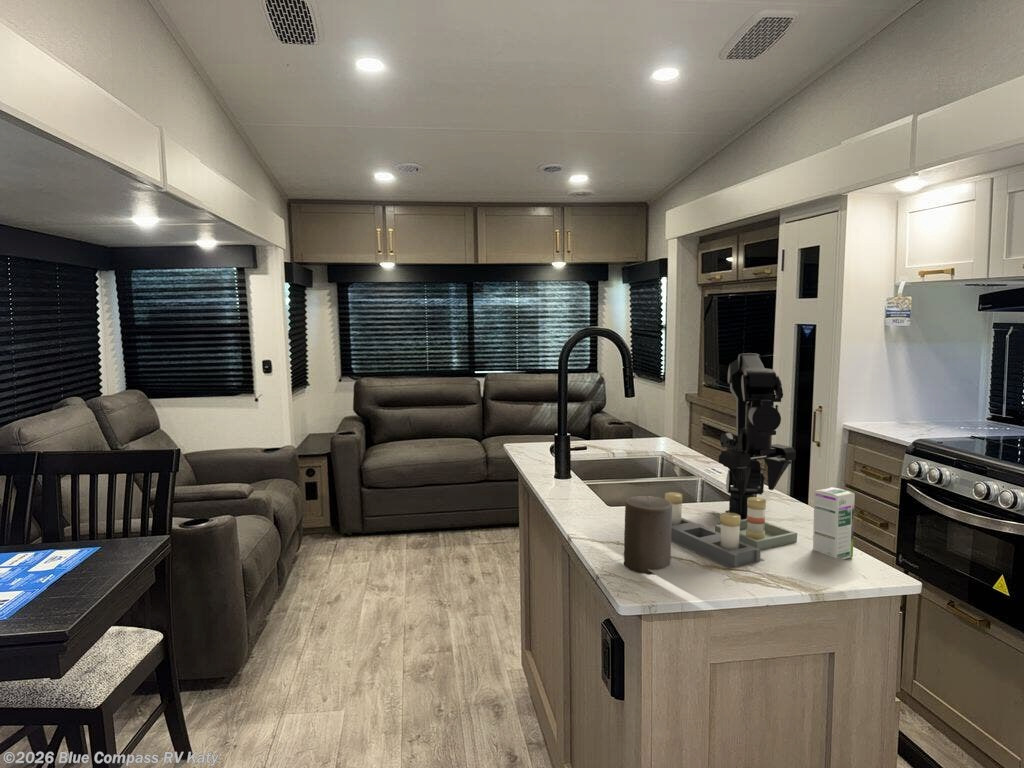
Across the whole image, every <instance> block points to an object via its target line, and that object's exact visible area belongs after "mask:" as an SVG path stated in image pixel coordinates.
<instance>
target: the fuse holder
mask: <svg viewBox="0 0 1024 768" xmlns="http://www.w3.org/2000/svg"><path fill="white" fill-rule="evenodd" d="M720 535H721V533H718V532H716V531H715V530H713V529H710V528H708V527H705V526H704V525H700V524H699V523H696V522H694V521H691V520H688V519H686V518H683V517H681V524H679V525H674V526H672V529H671V543H673V544H675V545H678V547H679V546H680V547H682V548H683V549H686V550H688V551H690V552H692V553H695V554H697V555H699V556H701V557H704V558H705V559H708V560H709V561H712V562H714V563H715V564H718V565H720V566H722V567H724V568H727V569H729V570H731V569H735V568H740V567H743V566H747V565H751V564H756V563H760V562H764V561H765V559H763V558H761V550H760V549H757V548H755V547H753V546H750V545H748V544H745V543H743V542H740V541H739V549H736V550H732V551H729V550H726V549H724V548H722V547H720Z"/></svg>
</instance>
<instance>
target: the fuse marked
mask: <svg viewBox="0 0 1024 768" xmlns="http://www.w3.org/2000/svg"><path fill="white" fill-rule="evenodd" d="M747 507H748V510H747V528H746V536H747V537H750V538H752V539H755V540H760V539H764V538H765V530H764V527H765V522H766V508H767V499H765V498H763V497H758V496H757V497H749V498H748V499H747Z"/></svg>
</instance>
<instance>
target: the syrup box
mask: <svg viewBox="0 0 1024 768" xmlns="http://www.w3.org/2000/svg"><path fill="white" fill-rule="evenodd" d="M813 493H814V494H813V495H814V496H813V498H814V499H813V530H812V533H813V536H812V538H813V539H812V550H813V551H815V552H818V553H821V554H824V555H827V556H828V557H831V558H834V559H837V558H839V559H841V560H847V559H850V558H851V559H852V558H853V557H854V532H855V531H854V529H855V526H854V525H855V497H856V496H855V494H856V493H855V492H853V491H851V490H847V489H843V488H839V487H834V486H831V487H828V488H824V489H816V490H814V491H813Z"/></svg>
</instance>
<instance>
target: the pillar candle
mask: <svg viewBox="0 0 1024 768" xmlns="http://www.w3.org/2000/svg"><path fill="white" fill-rule="evenodd" d="M672 506H673V504H672V503H671V502H670V501H668V500H666V499H665V498H662V497H656V496H653V495H638V496H631V497H630V496H629V497H628V498H626V500H625V508H624V509H625V510H624V532H623V533H624V535H623V542H624V543H623V547H624V549H623V551H624V552H623V565H624V567H625V568H627V569H628V570H630V571H631V572H634V573H639V574H644V575H645V574H646V575H655V572H653V571H658V570H663V569H665V568H668V567H670V565H671V560H672V559H671V556H672V555H671V554H672V553H671V552H672V542H671V529H672Z"/></svg>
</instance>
